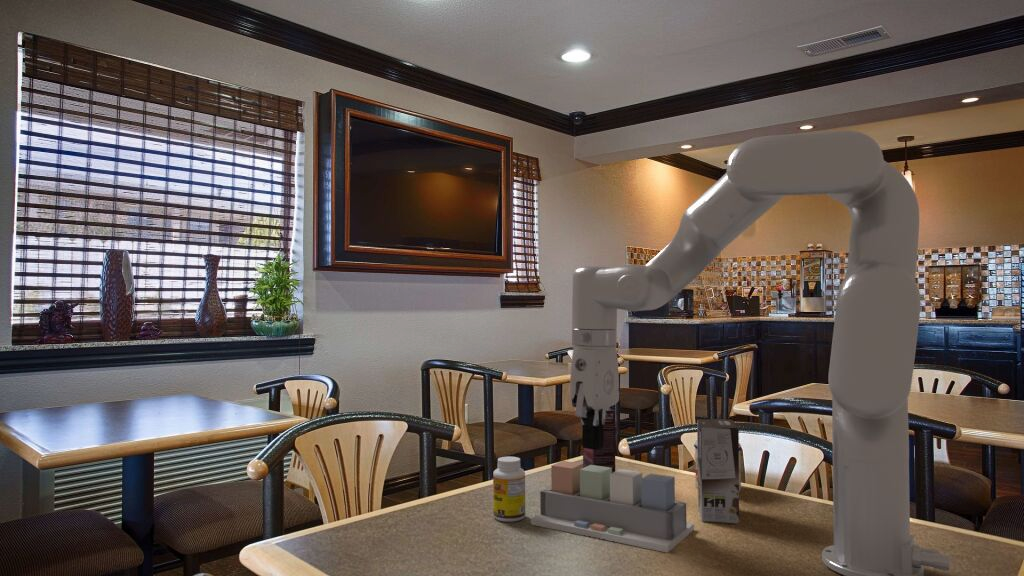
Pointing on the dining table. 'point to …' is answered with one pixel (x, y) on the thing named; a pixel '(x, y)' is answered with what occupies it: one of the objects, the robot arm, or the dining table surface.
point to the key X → (626, 487)
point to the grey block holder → (614, 520)
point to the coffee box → (718, 470)
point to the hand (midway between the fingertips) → (592, 447)
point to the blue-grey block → (658, 492)
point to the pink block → (566, 477)
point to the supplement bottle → (509, 490)
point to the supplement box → (607, 453)
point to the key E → (595, 482)
